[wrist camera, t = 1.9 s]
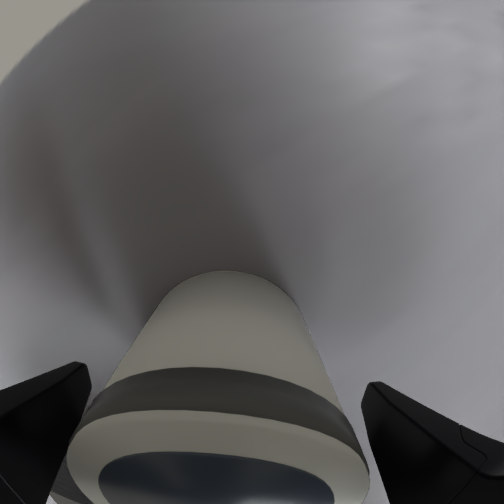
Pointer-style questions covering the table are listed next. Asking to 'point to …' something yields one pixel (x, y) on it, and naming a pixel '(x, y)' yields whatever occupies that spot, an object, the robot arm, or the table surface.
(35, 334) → the table surface
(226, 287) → the lens
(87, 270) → the table surface
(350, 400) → the table surface
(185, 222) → the table surface
